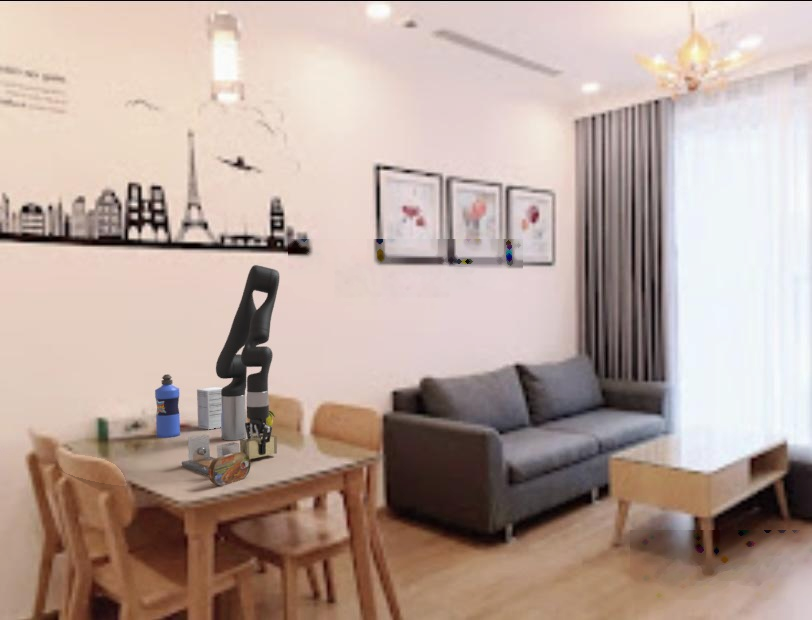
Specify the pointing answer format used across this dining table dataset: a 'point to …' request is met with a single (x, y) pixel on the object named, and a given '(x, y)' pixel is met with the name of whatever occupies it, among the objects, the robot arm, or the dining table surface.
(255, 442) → the block
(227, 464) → the tin
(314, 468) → the dining table surface
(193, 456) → the stand
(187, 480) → the dining table surface
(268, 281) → the robot arm
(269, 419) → the lemon
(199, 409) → the supplement box
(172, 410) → the water bottle
